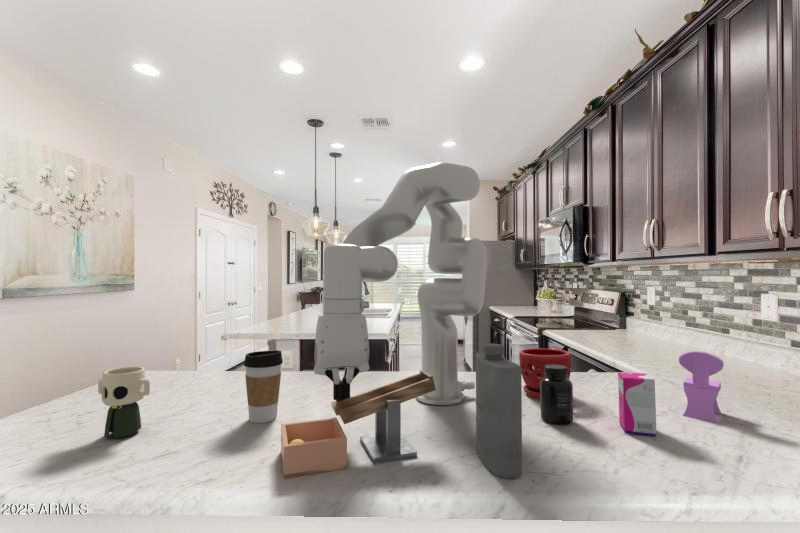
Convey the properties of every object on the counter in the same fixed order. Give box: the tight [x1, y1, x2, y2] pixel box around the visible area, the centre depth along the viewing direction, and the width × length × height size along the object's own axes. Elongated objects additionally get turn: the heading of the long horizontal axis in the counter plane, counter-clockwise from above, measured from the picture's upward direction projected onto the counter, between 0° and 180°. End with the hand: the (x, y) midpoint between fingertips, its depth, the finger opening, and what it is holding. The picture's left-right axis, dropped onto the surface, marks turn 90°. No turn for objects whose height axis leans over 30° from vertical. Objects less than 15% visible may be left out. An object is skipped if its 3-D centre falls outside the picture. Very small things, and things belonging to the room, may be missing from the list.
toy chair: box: [678, 350, 725, 423], centre depth 92 cm, size 8×9×15 cm
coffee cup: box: [243, 349, 284, 424], centre depth 89 cm, size 8×8×15 cm
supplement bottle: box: [539, 365, 574, 426], centre depth 88 cm, size 7×7×12 cm
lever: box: [330, 369, 436, 425], centre depth 76 cm, size 18×10×3 cm, turn 110°
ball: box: [290, 439, 304, 444], centre depth 68 cm, size 3×3×3 cm
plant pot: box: [518, 347, 572, 400], centre depth 106 cm, size 13×13×12 cm
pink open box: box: [280, 417, 348, 479], centre depth 69 cm, size 10×10×5 cm
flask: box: [475, 343, 523, 480], centre depth 70 cm, size 15×6×20 cm, turn 2°
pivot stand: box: [359, 399, 418, 464], centre depth 74 cm, size 8×10×10 cm
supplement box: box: [617, 371, 657, 438], centre depth 82 cm, size 6×6×12 cm
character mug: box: [97, 365, 151, 438], centre depth 80 cm, size 11×7×13 cm, turn 86°
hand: (341, 402), depth 76 cm, fingers closed
